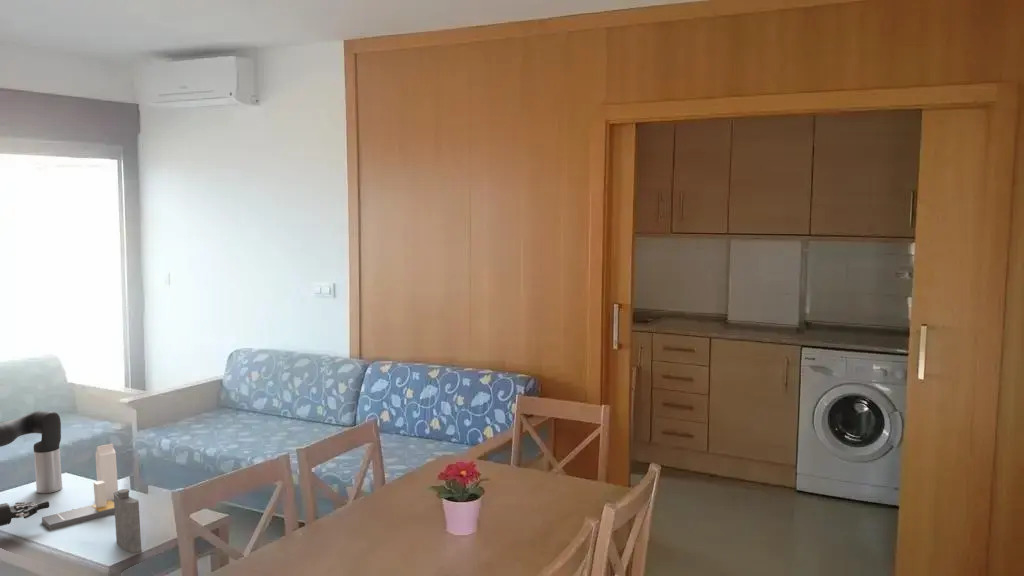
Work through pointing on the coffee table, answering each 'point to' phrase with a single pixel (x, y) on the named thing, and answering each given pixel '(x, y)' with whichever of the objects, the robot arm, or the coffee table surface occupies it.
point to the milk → (107, 469)
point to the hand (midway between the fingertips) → (48, 504)
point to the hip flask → (127, 521)
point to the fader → (100, 494)
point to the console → (77, 515)
